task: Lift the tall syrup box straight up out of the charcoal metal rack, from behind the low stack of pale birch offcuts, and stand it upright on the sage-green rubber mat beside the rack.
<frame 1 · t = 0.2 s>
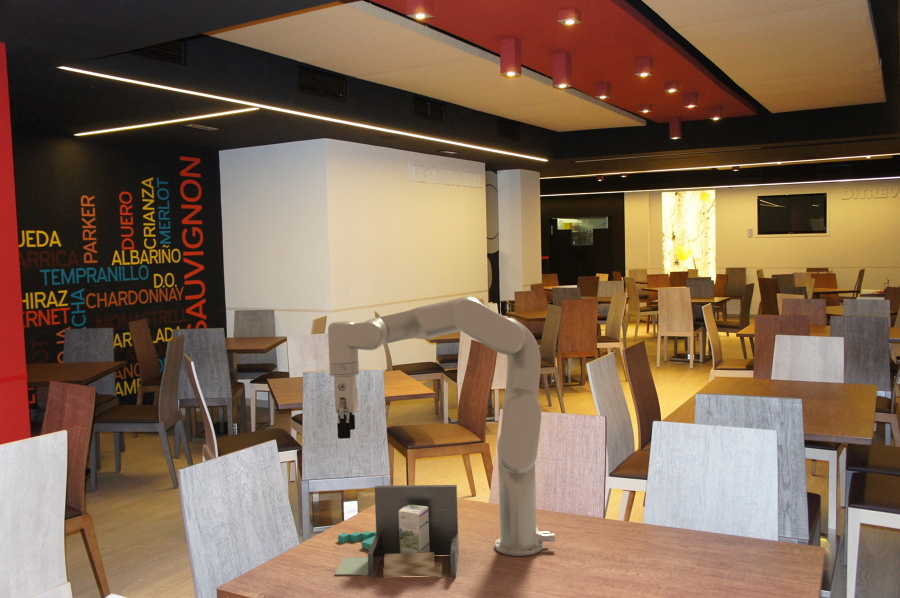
hand: (346, 433, 196), 31 cm above the table, tool pointing down, fingers open, 9 cm apart
syrup box: (415, 566, 186), on the table
rack: (415, 565, 186), on the table
mat: (355, 567, 186), on the table
offcut stack: (413, 575, 181), on the table
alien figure: (390, 539, 206), on the table
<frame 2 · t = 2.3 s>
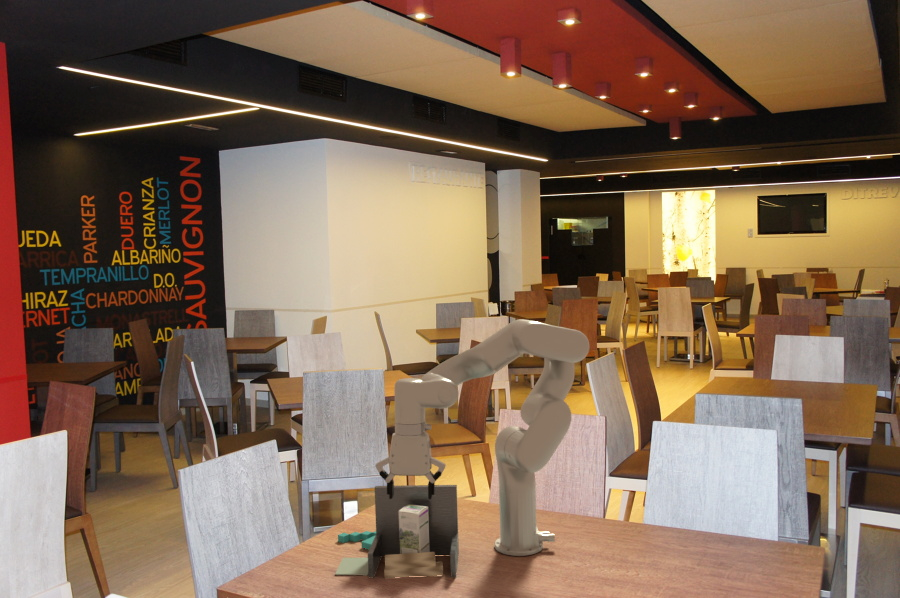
hand: (410, 497, 185), 17 cm above the table, tool pointing down, fingers open, 9 cm apart
nothing on the table moved.
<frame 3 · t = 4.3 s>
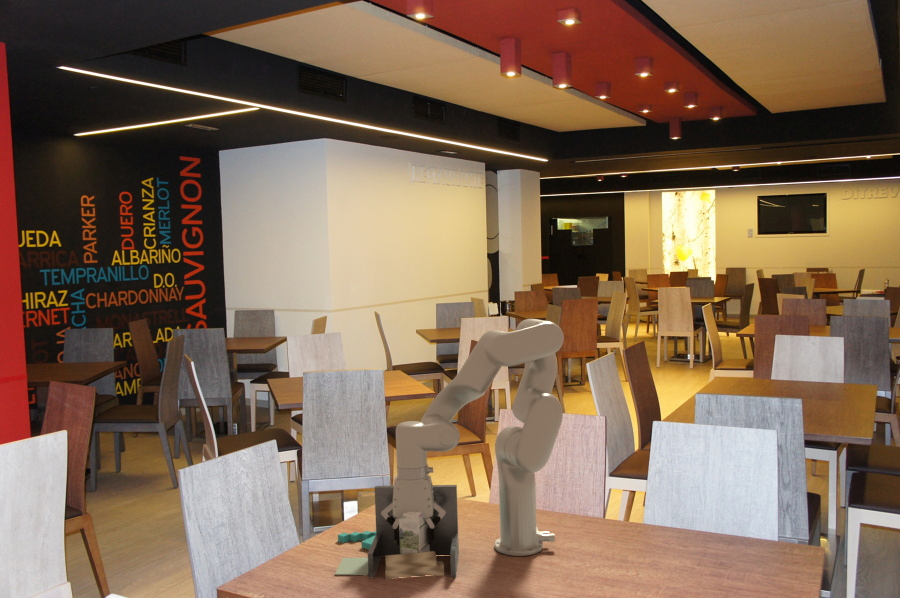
hand: (414, 542, 186), 6 cm above the table, tool pointing down, fingers closed on syrup box, 7 cm apart
syrup box: (415, 565, 186), on the table, touching gripper
everything else where it was.
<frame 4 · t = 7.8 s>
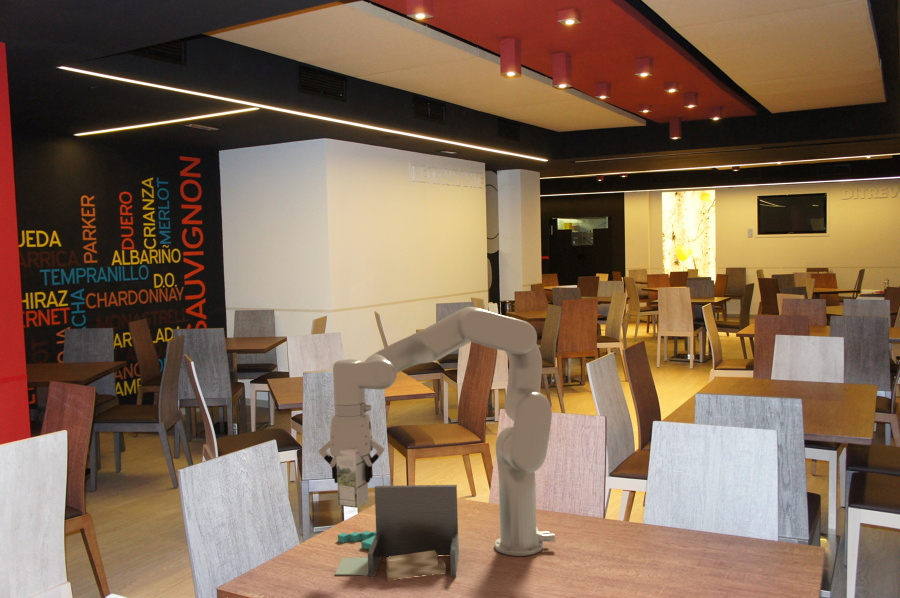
hand: (352, 480, 185), 22 cm above the table, tool pointing down, fingers closed on syrup box, 7 cm apart
syrup box: (353, 504, 185), point 16 cm above the table, touching gripper
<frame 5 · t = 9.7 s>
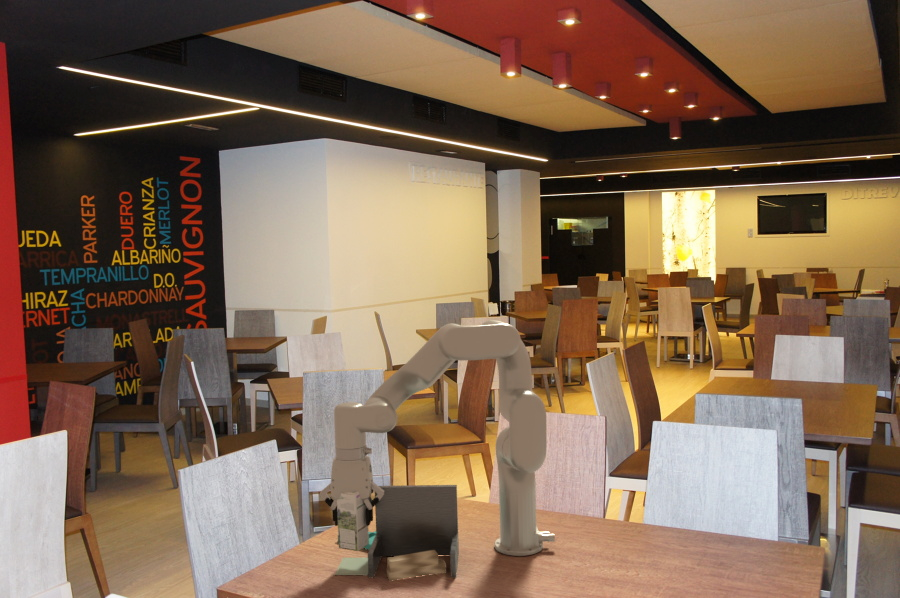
hand: (353, 523, 186), 11 cm above the table, tool pointing down, fingers closed on syrup box, 7 cm apart
syrup box: (353, 547, 186), point 5 cm above the table, touching gripper
when the fingers open (7 cm above the table, at t = 11.5 s): syrup box stays where it is, resting on mat.
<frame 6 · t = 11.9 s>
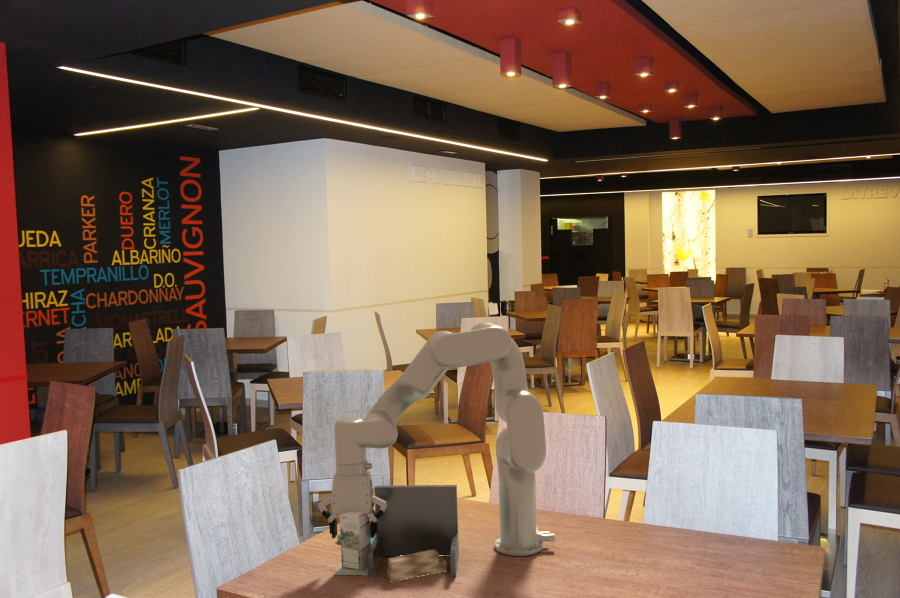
hand: (353, 536, 186), 8 cm above the table, tool pointing down, fingers open, 9 cm apart
syrup box: (356, 566, 186), resting on mat
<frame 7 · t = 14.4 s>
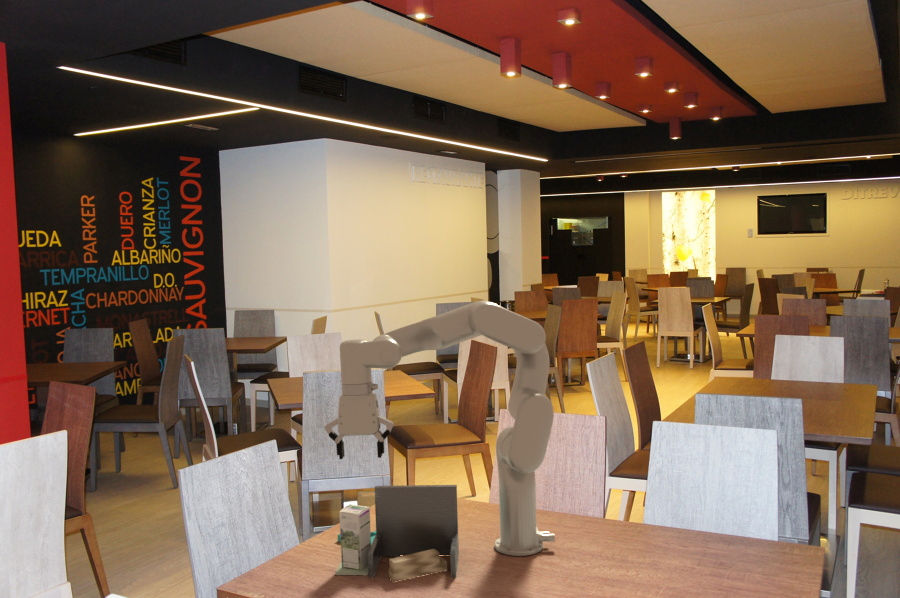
hand: (361, 457, 187), 27 cm above the table, tool pointing down, fingers open, 9 cm apart
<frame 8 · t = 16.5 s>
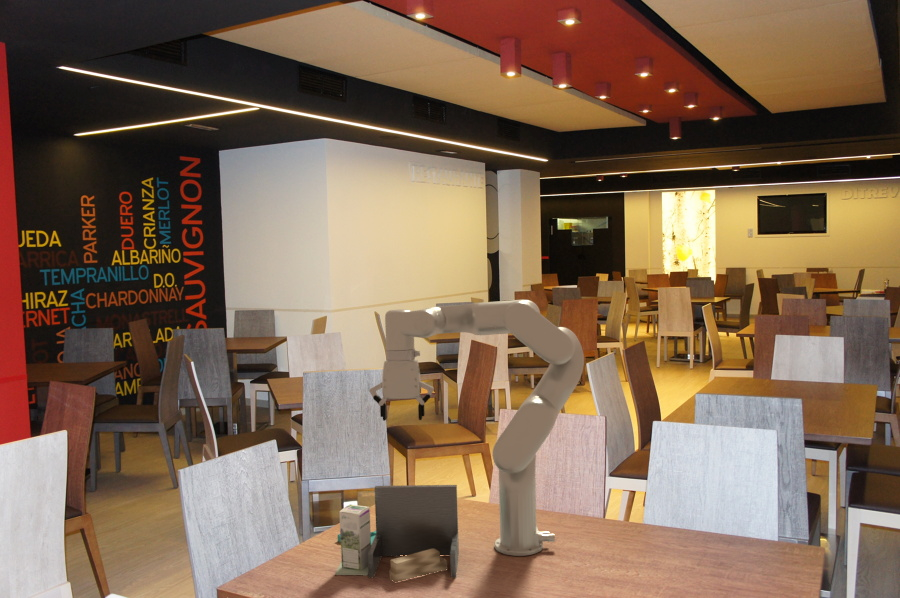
hand: (402, 419, 201), 33 cm above the table, tool pointing down, fingers open, 9 cm apart
at the end: syrup box inside the target area on the mat (0.5 cm from its centre), point 0.2 cm above the mat's base; syrup box tilted 0°; the gripper is holding nothing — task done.
